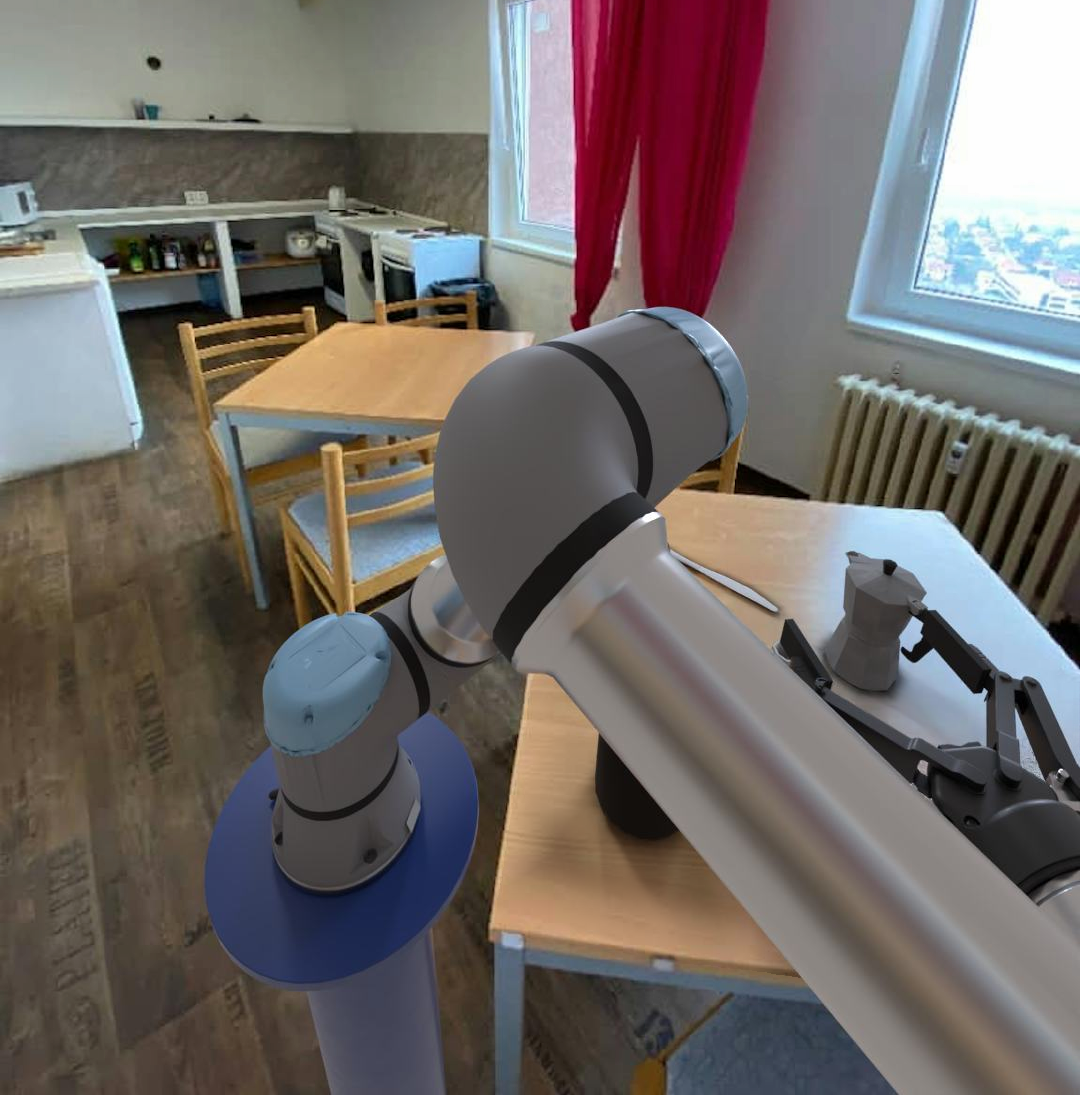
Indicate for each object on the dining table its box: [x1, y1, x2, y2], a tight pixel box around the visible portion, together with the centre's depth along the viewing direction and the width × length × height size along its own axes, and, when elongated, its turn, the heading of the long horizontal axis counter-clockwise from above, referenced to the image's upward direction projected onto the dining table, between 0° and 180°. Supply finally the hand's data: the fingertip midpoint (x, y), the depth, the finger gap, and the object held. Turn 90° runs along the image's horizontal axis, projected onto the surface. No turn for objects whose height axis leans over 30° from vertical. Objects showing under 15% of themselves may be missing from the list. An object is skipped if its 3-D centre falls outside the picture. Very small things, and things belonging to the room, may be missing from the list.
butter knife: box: [670, 548, 779, 613], centre depth 102 cm, size 1×27×3 cm
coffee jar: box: [594, 733, 679, 841], centre depth 64 cm, size 11×11×18 cm
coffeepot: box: [823, 550, 934, 692], centre depth 80 cm, size 15×9×18 cm, turn 17°
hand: (857, 625), depth 55 cm, fingers open, 13 cm apart
